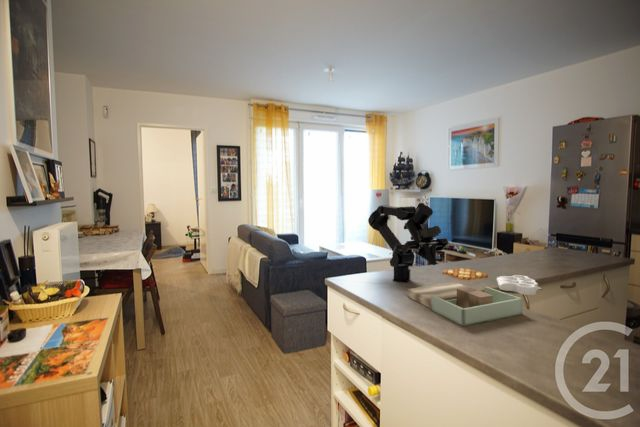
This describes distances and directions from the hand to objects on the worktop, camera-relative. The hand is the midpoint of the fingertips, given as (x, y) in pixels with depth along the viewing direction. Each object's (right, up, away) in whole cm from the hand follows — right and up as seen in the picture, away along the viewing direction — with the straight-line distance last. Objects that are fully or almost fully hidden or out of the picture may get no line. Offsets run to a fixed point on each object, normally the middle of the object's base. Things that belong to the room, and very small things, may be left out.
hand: (435, 264), depth 124 cm
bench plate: (+2, -12, -4) cm, 13 cm away
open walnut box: (+5, -9, -12) cm, 16 cm away
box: (+7, -13, -17) cm, 23 cm away
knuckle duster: (+36, -11, +7) cm, 38 cm away
